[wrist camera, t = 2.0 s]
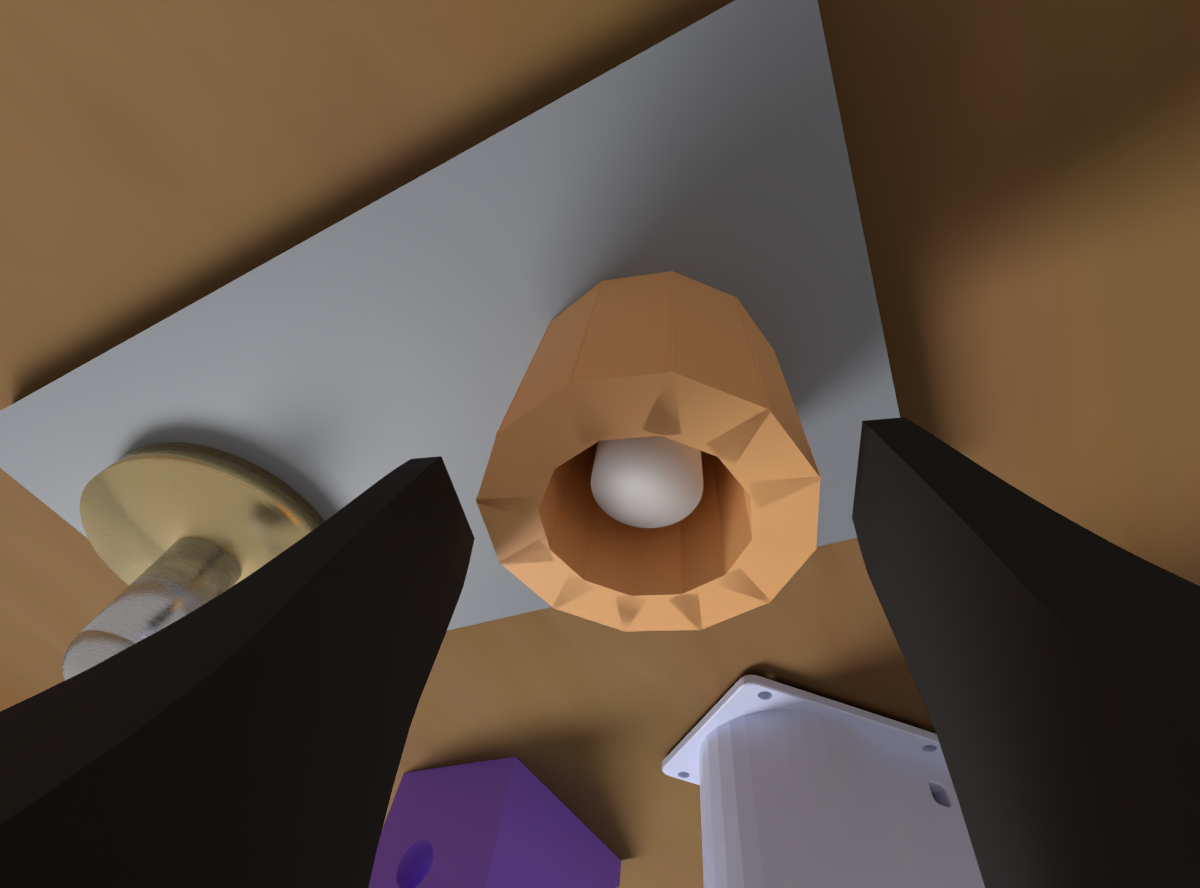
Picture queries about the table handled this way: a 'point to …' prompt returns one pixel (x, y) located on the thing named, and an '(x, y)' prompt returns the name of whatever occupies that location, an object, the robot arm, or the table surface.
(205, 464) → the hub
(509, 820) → the bracket
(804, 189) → the board
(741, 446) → the sleeve
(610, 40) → the table surface
